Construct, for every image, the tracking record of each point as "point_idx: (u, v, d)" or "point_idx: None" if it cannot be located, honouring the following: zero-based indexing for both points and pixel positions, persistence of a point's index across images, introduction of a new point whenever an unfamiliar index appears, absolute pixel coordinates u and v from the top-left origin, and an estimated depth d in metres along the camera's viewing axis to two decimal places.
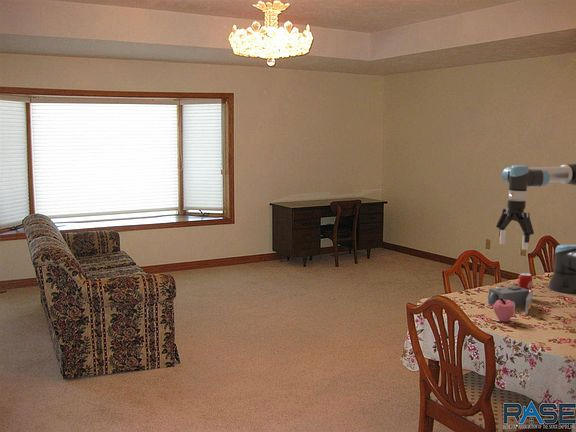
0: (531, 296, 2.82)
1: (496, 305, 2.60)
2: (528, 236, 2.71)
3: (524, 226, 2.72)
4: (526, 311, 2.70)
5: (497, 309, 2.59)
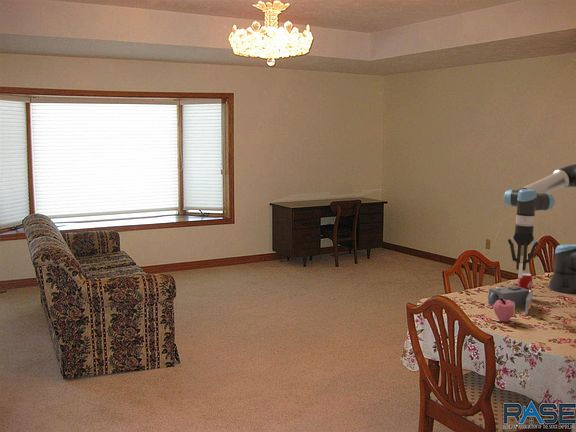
0: (531, 296, 2.82)
1: (496, 305, 2.60)
2: (525, 264, 2.72)
3: (526, 254, 2.71)
4: (526, 311, 2.70)
5: (497, 309, 2.59)
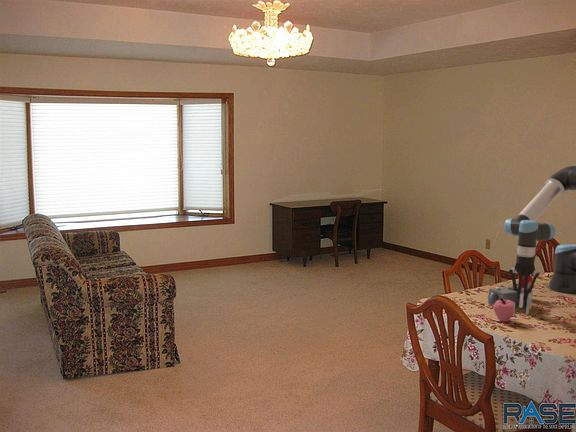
0: (531, 296, 2.82)
1: (496, 305, 2.60)
2: (526, 294, 2.74)
3: (527, 284, 2.73)
4: (527, 311, 2.70)
5: (497, 309, 2.59)
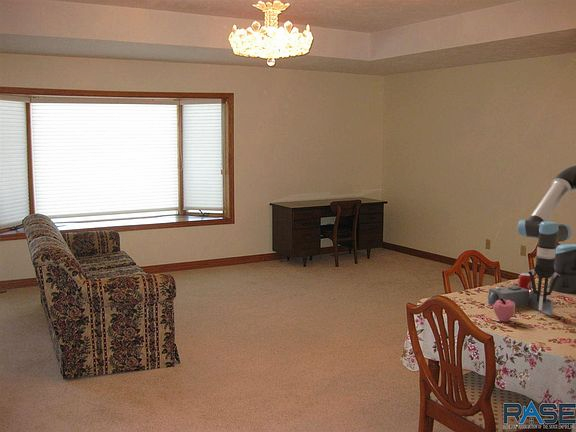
0: None
1: (496, 305, 2.60)
2: None
3: (547, 286, 2.69)
4: (551, 313, 2.69)
5: (497, 309, 2.59)
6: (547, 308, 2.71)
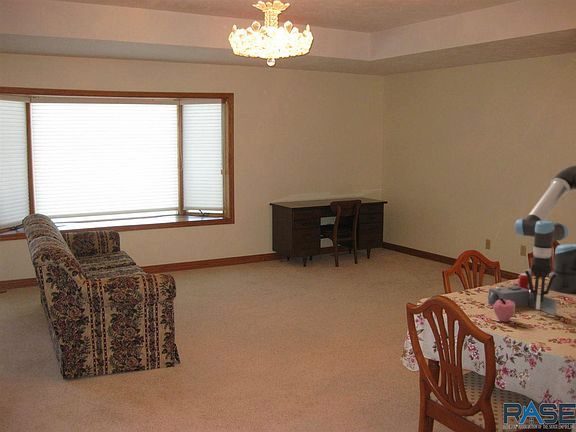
0: None
1: (496, 305, 2.60)
2: (543, 295, 2.71)
3: (544, 286, 2.70)
4: (555, 312, 2.70)
5: (497, 309, 2.59)
6: (550, 308, 2.71)
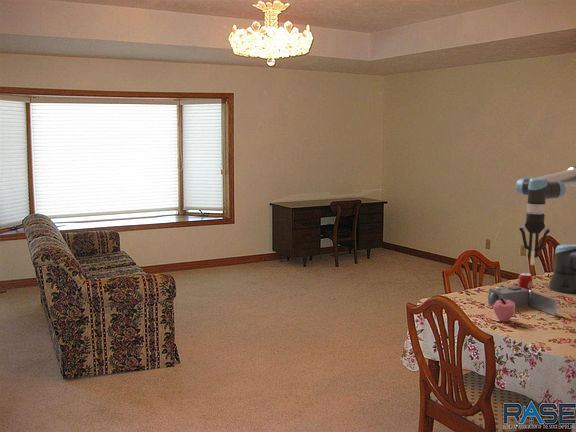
0: None
1: (496, 305, 2.60)
2: (537, 251, 2.78)
3: None
4: (555, 312, 2.70)
5: (497, 309, 2.59)
6: (550, 308, 2.71)
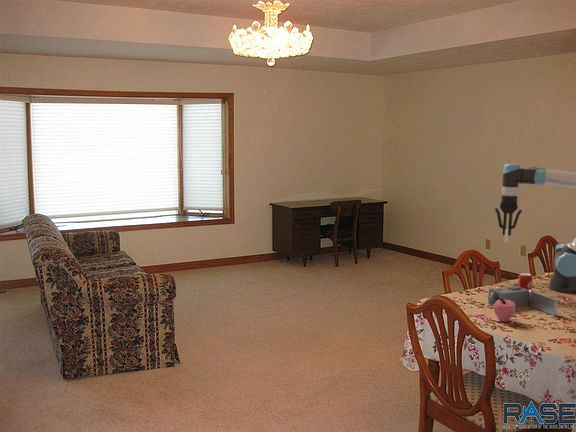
0: None
1: (496, 305, 2.60)
2: None
3: (511, 221, 3.07)
4: (555, 312, 2.70)
5: (497, 309, 2.59)
6: (550, 308, 2.71)
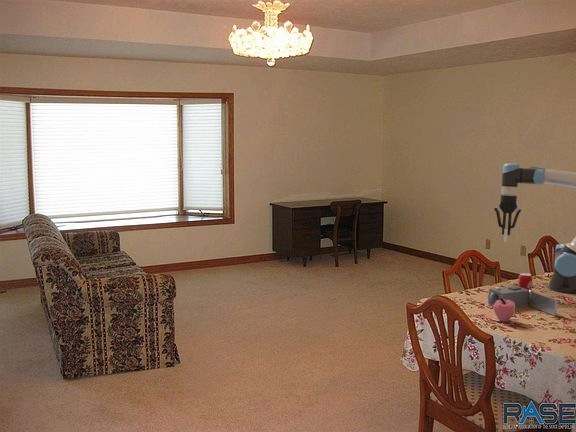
0: None
1: (496, 305, 2.60)
2: (510, 229, 3.09)
3: (510, 220, 3.08)
4: (555, 312, 2.70)
5: (497, 309, 2.59)
6: (550, 308, 2.71)
